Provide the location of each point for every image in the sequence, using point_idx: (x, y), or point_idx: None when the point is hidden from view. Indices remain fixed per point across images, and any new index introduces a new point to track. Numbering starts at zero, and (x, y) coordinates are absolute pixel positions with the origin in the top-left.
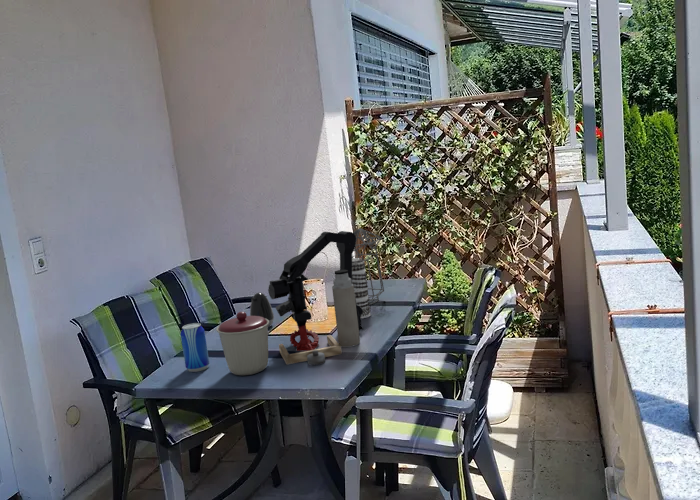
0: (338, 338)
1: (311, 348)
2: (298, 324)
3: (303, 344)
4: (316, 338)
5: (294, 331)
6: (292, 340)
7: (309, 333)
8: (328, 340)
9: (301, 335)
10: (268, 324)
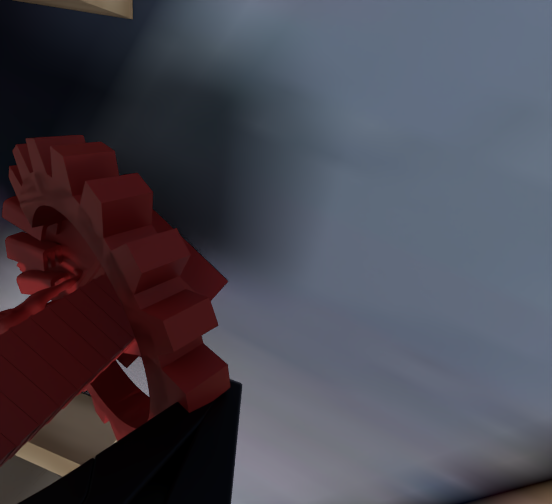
0: (8, 463)
1: (25, 269)
2: (49, 494)
3: (93, 258)
4: (90, 394)
5: (161, 320)
6: (42, 163)
7: (143, 422)
8: (77, 426)
9: (46, 314)
10: None
